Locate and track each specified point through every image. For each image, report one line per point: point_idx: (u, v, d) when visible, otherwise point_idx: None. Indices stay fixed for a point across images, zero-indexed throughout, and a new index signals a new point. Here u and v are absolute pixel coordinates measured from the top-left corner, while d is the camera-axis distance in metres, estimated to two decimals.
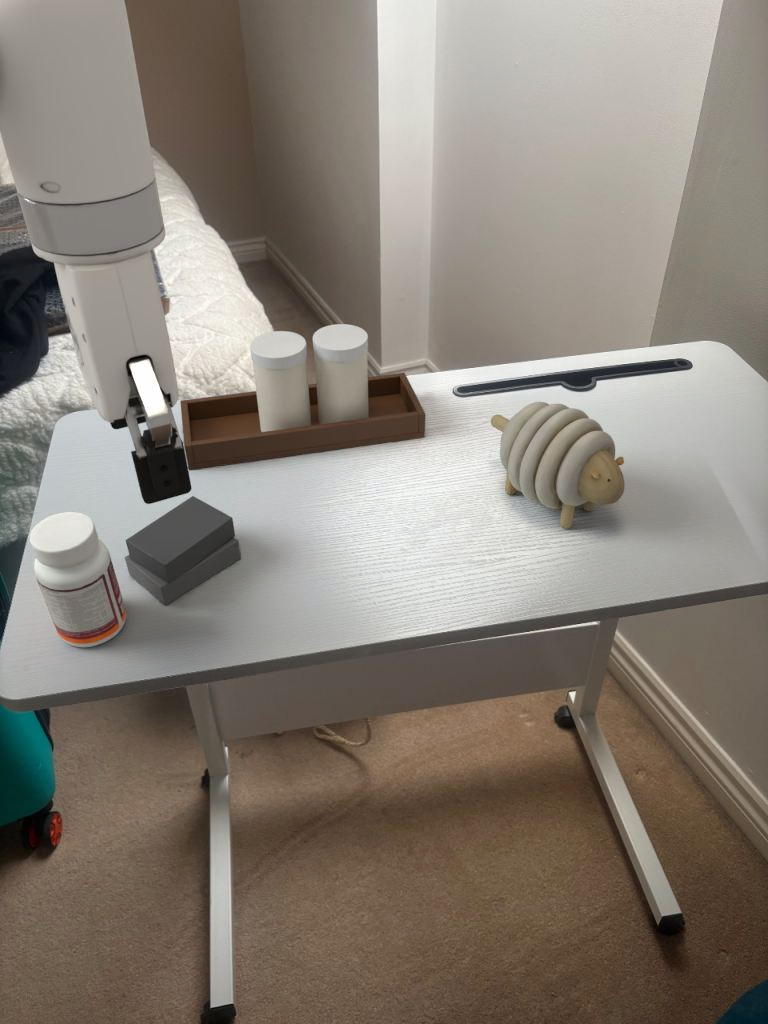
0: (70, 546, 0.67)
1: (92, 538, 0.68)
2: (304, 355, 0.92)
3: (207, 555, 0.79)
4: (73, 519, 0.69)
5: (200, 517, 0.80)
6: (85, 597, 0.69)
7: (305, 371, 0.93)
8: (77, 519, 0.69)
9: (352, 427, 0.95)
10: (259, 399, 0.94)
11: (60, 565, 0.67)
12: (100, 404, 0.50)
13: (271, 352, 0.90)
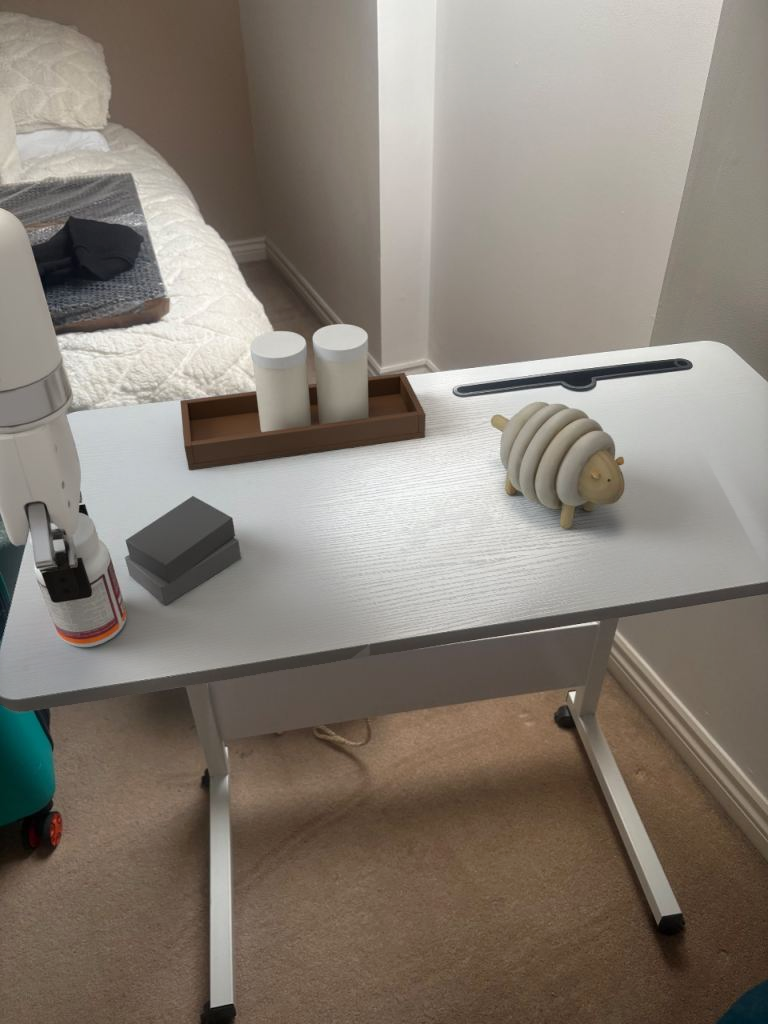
0: None
1: (92, 537, 0.68)
2: (304, 355, 0.92)
3: (207, 555, 0.79)
4: None
5: (200, 517, 0.80)
6: None
7: (305, 371, 0.93)
8: None
9: (352, 427, 0.95)
10: (259, 399, 0.94)
11: None
12: (7, 532, 0.62)
13: (271, 352, 0.90)
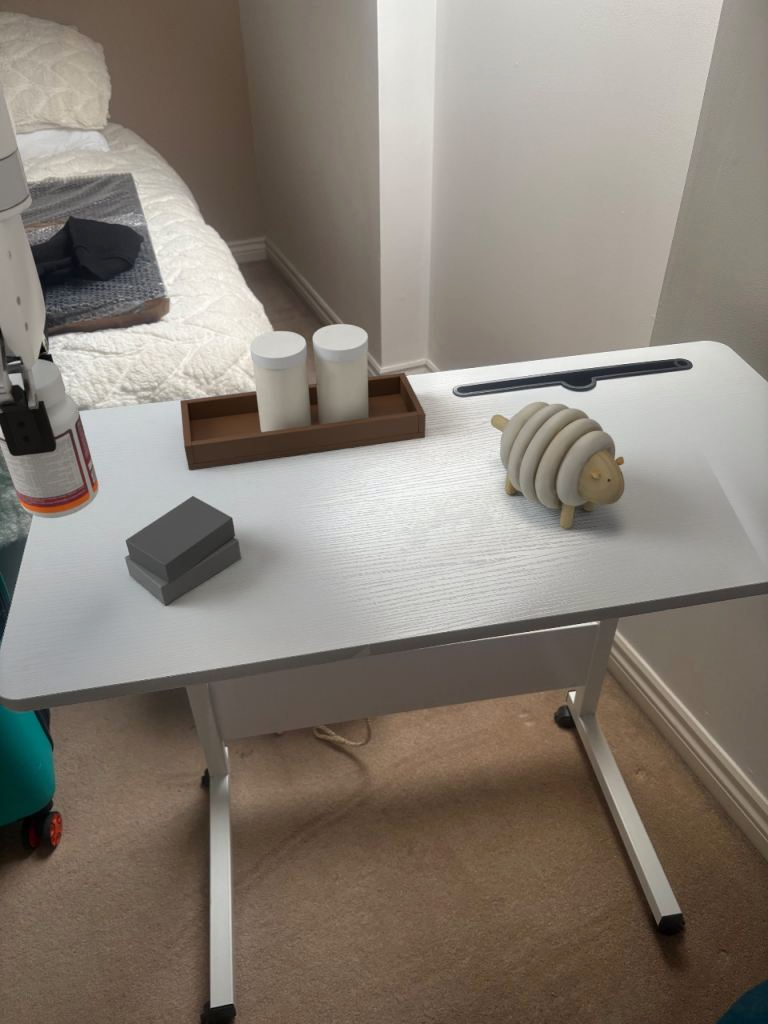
0: None
1: (57, 383, 0.60)
2: (304, 355, 0.92)
3: (207, 555, 0.79)
4: (37, 365, 0.61)
5: (200, 517, 0.80)
6: (49, 454, 0.62)
7: (305, 371, 0.93)
8: (41, 365, 0.61)
9: (352, 427, 0.95)
10: (259, 399, 0.94)
11: None
12: None
13: (271, 352, 0.90)
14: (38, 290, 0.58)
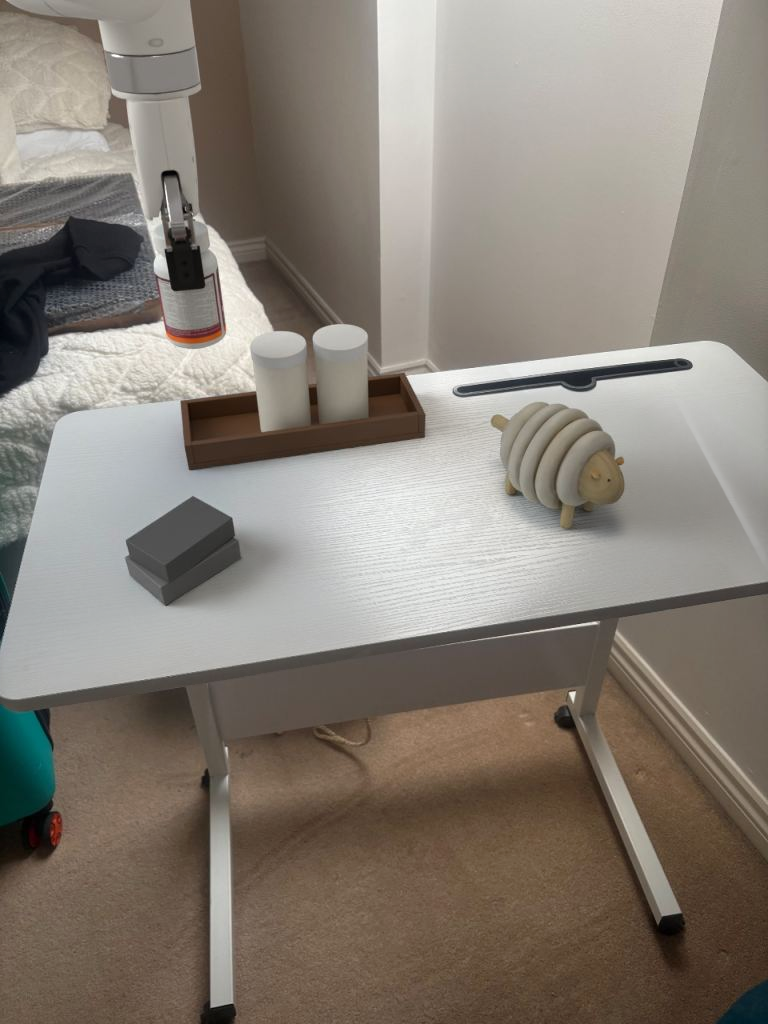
0: None
1: (206, 235, 0.79)
2: (304, 355, 0.92)
3: (207, 555, 0.79)
4: None
5: (200, 517, 0.80)
6: (198, 291, 0.80)
7: (305, 371, 0.93)
8: None
9: (352, 427, 0.95)
10: (259, 399, 0.94)
11: None
12: (143, 204, 0.72)
13: (271, 352, 0.90)
14: None
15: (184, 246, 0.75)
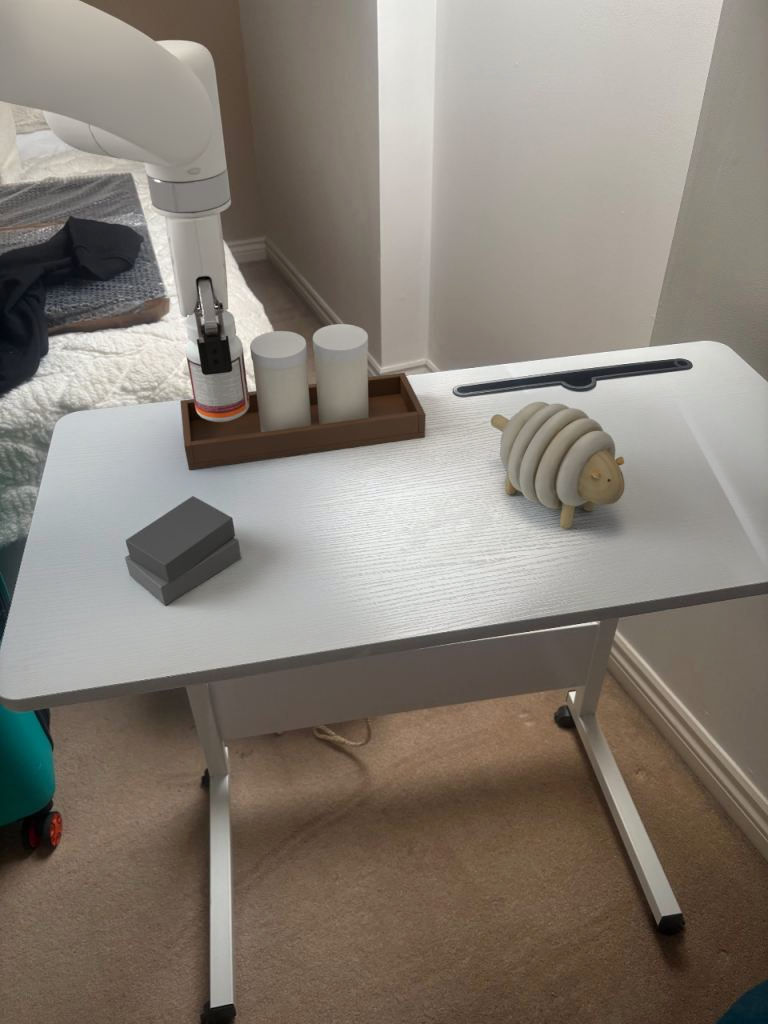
0: None
1: (233, 324, 0.88)
2: (304, 355, 0.92)
3: (207, 555, 0.79)
4: None
5: (200, 517, 0.80)
6: (226, 373, 0.89)
7: (305, 371, 0.93)
8: None
9: (352, 427, 0.95)
10: (259, 399, 0.94)
11: None
12: (179, 304, 0.82)
13: (271, 352, 0.90)
14: None
15: (215, 338, 0.84)
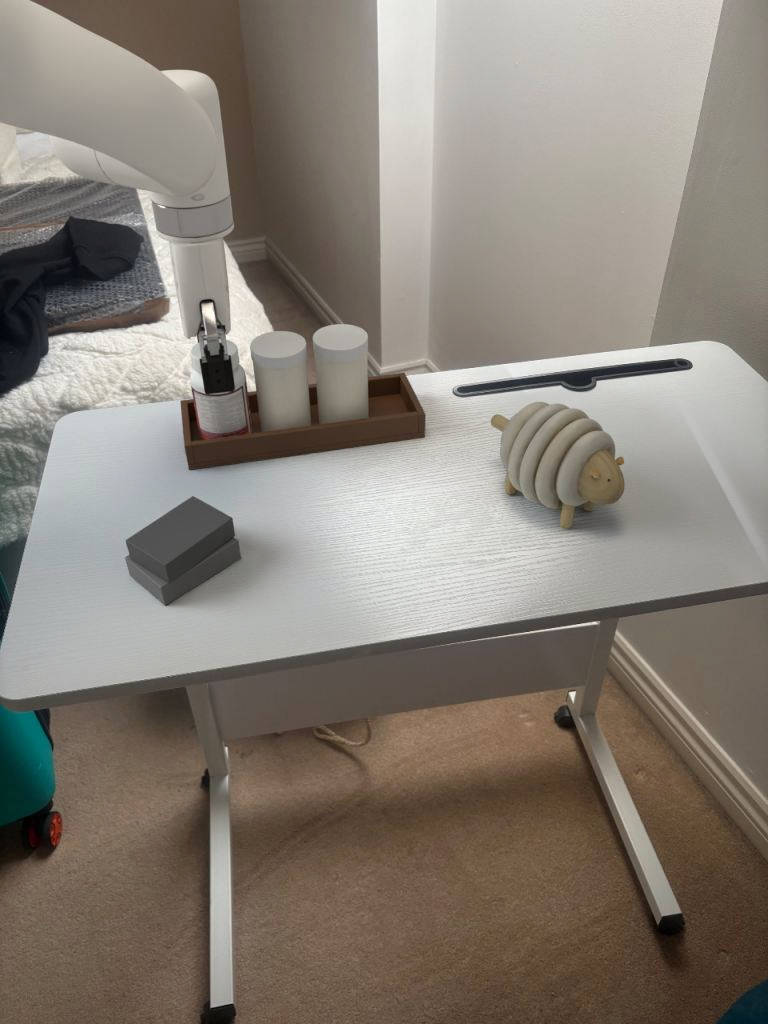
0: None
1: (236, 354, 0.90)
2: (304, 355, 0.92)
3: (207, 555, 0.79)
4: None
5: (200, 517, 0.80)
6: (229, 402, 0.91)
7: (305, 371, 0.93)
8: None
9: (352, 427, 0.95)
10: (259, 399, 0.94)
11: None
12: (183, 326, 0.83)
13: (271, 352, 0.90)
14: None
15: (218, 358, 0.84)
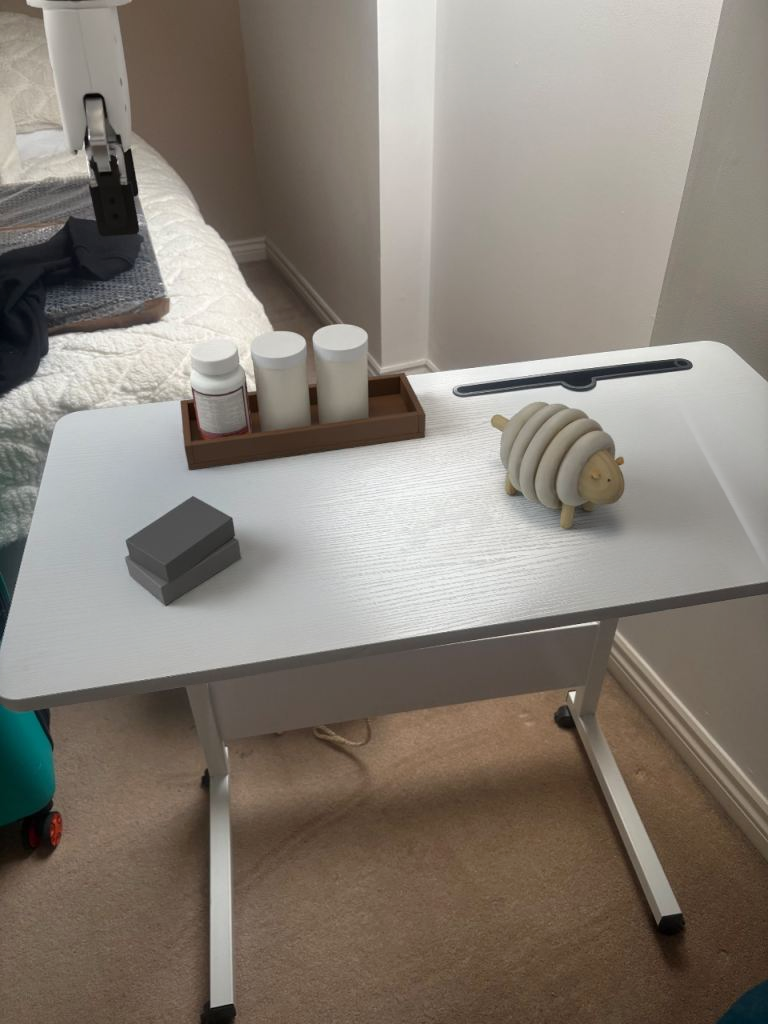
0: (222, 358, 0.89)
1: (236, 354, 0.90)
2: (304, 355, 0.92)
3: (207, 555, 0.79)
4: (220, 343, 0.91)
5: (200, 517, 0.80)
6: (229, 402, 0.91)
7: (305, 371, 0.93)
8: (223, 342, 0.91)
9: (352, 427, 0.95)
10: (259, 399, 0.94)
11: (214, 373, 0.89)
12: (64, 134, 0.63)
13: (271, 352, 0.90)
14: None
15: (111, 179, 0.64)
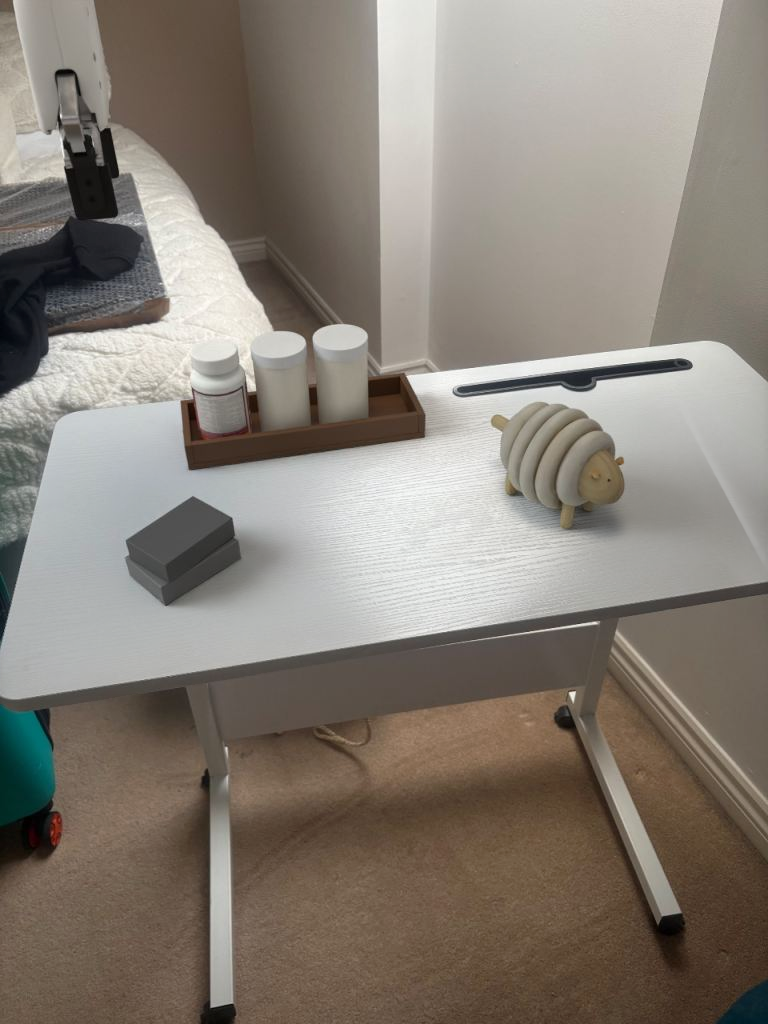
0: (222, 358, 0.89)
1: (236, 354, 0.90)
2: (304, 355, 0.92)
3: (207, 555, 0.79)
4: (220, 343, 0.91)
5: (200, 517, 0.80)
6: (229, 402, 0.91)
7: (305, 371, 0.93)
8: (223, 342, 0.91)
9: (352, 427, 0.95)
10: (259, 399, 0.94)
11: (214, 373, 0.89)
12: (36, 113, 0.60)
13: (271, 352, 0.90)
14: None
15: (86, 160, 0.61)
